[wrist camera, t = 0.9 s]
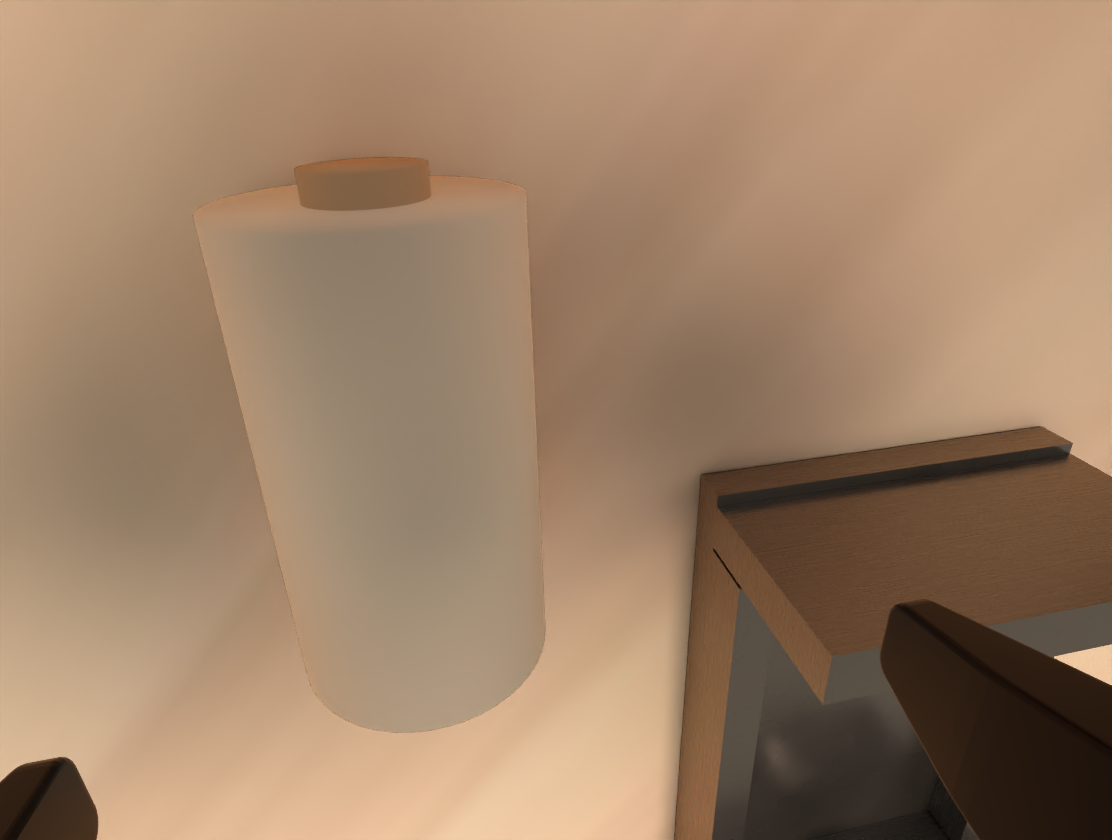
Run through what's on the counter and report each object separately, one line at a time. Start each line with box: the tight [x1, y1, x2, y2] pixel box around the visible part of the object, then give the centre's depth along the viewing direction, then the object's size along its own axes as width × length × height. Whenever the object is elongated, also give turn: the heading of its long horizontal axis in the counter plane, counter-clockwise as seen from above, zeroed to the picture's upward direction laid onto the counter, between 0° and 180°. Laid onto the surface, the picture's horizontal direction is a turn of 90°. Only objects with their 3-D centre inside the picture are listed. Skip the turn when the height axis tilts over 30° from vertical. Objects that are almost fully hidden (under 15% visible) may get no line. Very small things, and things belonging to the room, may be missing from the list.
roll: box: [193, 157, 545, 733], centre depth 13 cm, size 10×5×5 cm, turn 2°
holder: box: [674, 427, 1112, 840], centre depth 20 cm, size 10×16×6 cm, turn 2°
